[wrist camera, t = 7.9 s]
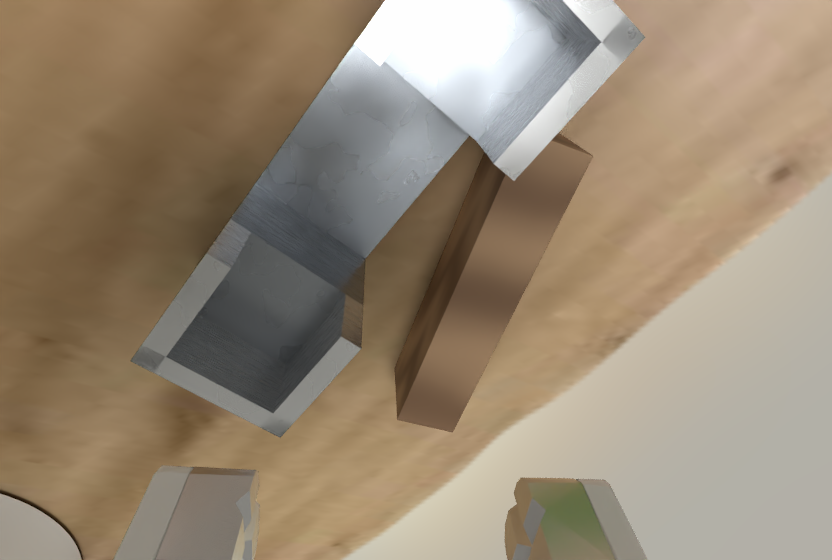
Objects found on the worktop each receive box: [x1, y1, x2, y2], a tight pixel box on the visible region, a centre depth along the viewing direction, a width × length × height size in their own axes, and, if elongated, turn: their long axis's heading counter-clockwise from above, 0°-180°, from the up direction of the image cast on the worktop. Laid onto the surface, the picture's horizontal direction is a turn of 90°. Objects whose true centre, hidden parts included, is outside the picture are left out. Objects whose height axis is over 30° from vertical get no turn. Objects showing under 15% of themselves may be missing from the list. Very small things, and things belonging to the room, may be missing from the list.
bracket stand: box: [131, 0, 645, 437], centre depth 23 cm, size 22×7×10 cm, turn 140°
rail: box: [395, 133, 593, 432], centre depth 28 cm, size 17×3×5 cm, turn 160°
